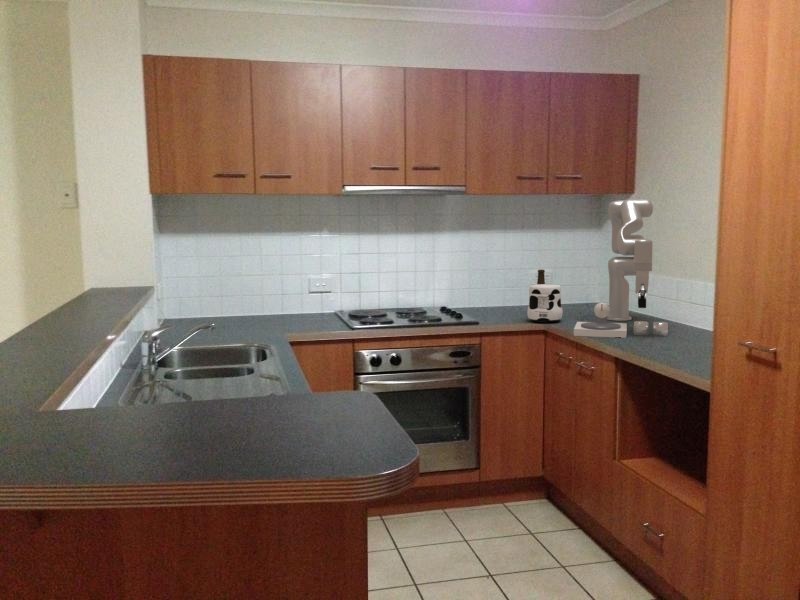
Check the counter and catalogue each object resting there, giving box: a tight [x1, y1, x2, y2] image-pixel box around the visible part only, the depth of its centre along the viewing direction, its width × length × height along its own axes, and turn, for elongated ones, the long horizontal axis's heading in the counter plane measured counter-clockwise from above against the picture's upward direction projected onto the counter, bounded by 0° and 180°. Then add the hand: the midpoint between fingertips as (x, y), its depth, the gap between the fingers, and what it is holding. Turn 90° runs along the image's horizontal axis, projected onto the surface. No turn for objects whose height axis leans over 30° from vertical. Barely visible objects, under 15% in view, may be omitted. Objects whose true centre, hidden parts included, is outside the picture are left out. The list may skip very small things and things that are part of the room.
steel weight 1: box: [633, 320, 649, 336], centre depth 299 cm, size 6×6×6 cm
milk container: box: [526, 283, 564, 323], centre depth 339 cm, size 17×17×18 cm
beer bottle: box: [536, 269, 546, 284], centre depth 364 cm, size 8×8×24 cm
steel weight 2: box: [652, 321, 669, 337], centre depth 297 cm, size 6×6×6 cm
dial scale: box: [573, 302, 628, 339], centre depth 304 cm, size 22×22×12 cm
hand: (641, 306), depth 298 cm, fingers open, 9 cm apart
